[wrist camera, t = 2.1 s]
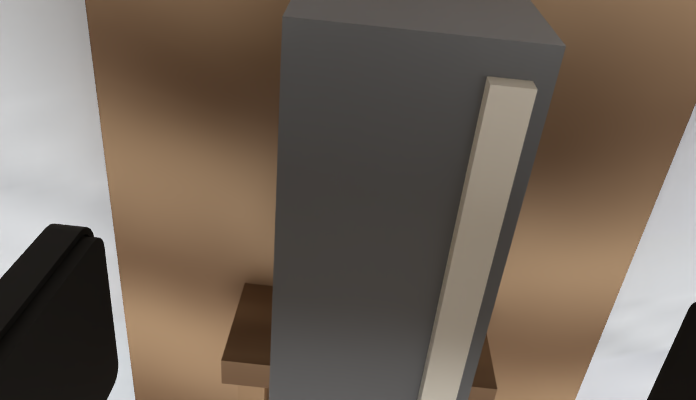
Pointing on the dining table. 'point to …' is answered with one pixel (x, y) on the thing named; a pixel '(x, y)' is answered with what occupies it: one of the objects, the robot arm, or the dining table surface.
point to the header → (261, 176)
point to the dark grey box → (399, 189)
